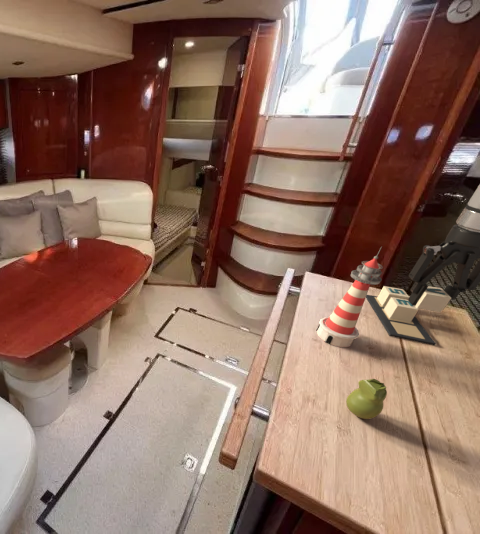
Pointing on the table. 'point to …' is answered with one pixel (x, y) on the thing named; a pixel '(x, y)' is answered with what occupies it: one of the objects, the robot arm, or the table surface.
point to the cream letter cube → (433, 300)
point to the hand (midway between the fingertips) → (424, 304)
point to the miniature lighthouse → (350, 307)
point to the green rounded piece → (367, 399)
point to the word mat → (400, 325)
